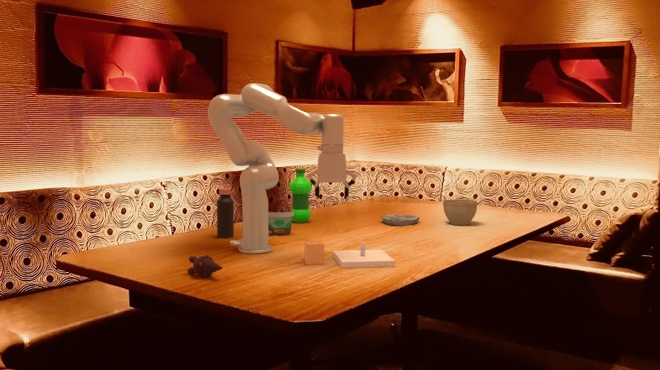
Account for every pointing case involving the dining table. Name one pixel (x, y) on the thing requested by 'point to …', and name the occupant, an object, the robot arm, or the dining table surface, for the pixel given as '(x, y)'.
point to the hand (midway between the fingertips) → (331, 198)
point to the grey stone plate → (400, 219)
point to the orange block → (314, 252)
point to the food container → (280, 223)
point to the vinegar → (225, 214)
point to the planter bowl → (460, 211)
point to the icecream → (203, 266)
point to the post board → (363, 258)
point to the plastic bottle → (300, 197)
